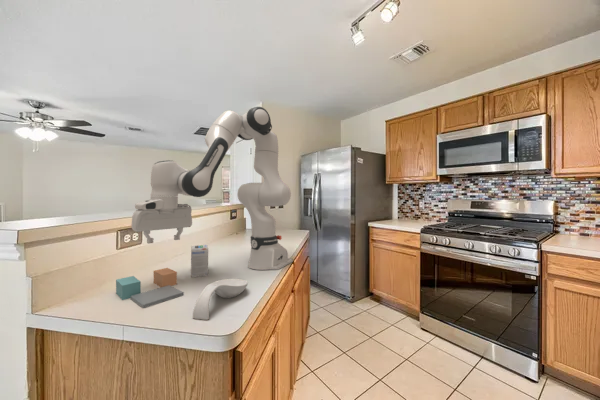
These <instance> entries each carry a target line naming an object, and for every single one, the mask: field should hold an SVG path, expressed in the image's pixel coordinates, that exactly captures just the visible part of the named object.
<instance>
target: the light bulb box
mask: <svg viewBox="0 0 600 400" xmlns="http://www.w3.org/2000/svg"><path fill="white" fill-rule="evenodd" d="M190 247H191V251H190V252H191V254H190V277H191V278H196V277H197V278H198V277H204V276H205V277H206V276H209V247H208V244H203V245H202V244H201V245H199V244H198V245H191V246H190Z"/></svg>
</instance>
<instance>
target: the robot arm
mask: <svg viewBox="0 0 600 400" xmlns="http://www.w3.org/2000/svg"><path fill="white" fill-rule="evenodd" d="M272 129H273V125H272V122H271V116H270V114H269V112H268V111H267V109H265V108H264V107H262V106H254V107H252V108H250V109H248V111H246V112H245V113H244V114H242V115H239V113H237V112H236V111H233V110H230V109H229V110H225V111H224V112H222V113H221V114H220V115H219V116H218V117H217V118H216V119H215V120H214V121H213V123H212V124H211V125H210V127H209V129H208V130H207V133H206V135H205V138H204V142H205V144H206V146H207V147H208V148H207V151H206V153H205V154H204V156H203V157H202V159H201V161H200V162H199V164H198V165H197V166H195V168H193V169H190V170H189V169H187V168H185V167H183V166H182V165H180V164H179V163H177V161H175V160H169V159H168V160H160V161H157V162H155V163H153V165H152V167H151V171H150V186H151V193H150V199H147V200H143V201H139V202H137V203H135V205H134V207H135V209H136V210H134V212H132V213H133V214H132V218H131V229H132V231H134V232H135V233H136V232H143V235H144V236H145V238H146V243H147V244H154V238H153V237H151V236H150V234H151V231H160V230H161V231H163V230H171V229H172V230H173V229H176V231H177V232H176V234H174V235H173V240H174V241H180V240H181V235H182V233H183V232H184V229H185V228H190V227H191V226H192V225H193V216H192V207H191V205H189V204H188V203H179V202H178V201H179V200H178V199H179V197H178V196H179V194H180V195H183V196H189V197H194V198H201V197H205V196H206V195H208V194H209V193H210V191H211V190H212V188H213V183H214V178H215V174H216V172H217V170H218V169H219V167H220V164H221V163H222V161H223V160H224V158H225V156H226V154H227V152H228V151H229V149H231V147H232V145H233V144H234V142H235V141H236V140H237V138H240V139H241V140H244V141H251V140H254V143H255V144H254V145H255V149H254V157H253V158H254V161H253V169H254V171H255V172H256V174H258V175H260V176H262V177H263V182H247V183H244V184H241V185H240V186H239V188H238V189H237V200H238V201H239V202H240V203H241V204H242V205H243V207H244V208H246V210H247V212H248V215H249V217H250V223H251V224H250V225H251V236H250V246H251V247H250V253H249V261H248V265H247V267H248V268H250V269H251V270H252V269H253V270H257V271H260V270H263V271H265V270H266V271H267V270H275V271H276V270H279V269H282V268H284V267H285V266H288V265H289V264H292V263H293V259H292V258H290V257H289V255H288V253H289V252H288V249H286V248H285V247H284V246H283V245H282V244H280V243H279V241H281V240H282V239H283V237H282V235H280V234H279V235H276V225H277V224H276V223H277V222H276V219H275V217H274V216H273V215H271V214H270V213H268V212H267V210H266V208H265V207H279V206H280V207H281V206H286V205H287V204H288V203H289V202H290V200H291V196H292V195H291V194H292V193H291V189H290V187H289V186H288V184H286V183H285V182H284V180H282V178H281V176H280V173H279V169H278V168H279V166H278V165H279V140H278V136H277V134H276V133H275V132H273V131H272Z"/></svg>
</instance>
